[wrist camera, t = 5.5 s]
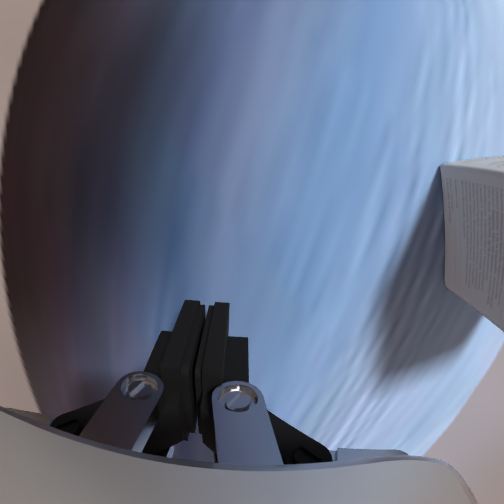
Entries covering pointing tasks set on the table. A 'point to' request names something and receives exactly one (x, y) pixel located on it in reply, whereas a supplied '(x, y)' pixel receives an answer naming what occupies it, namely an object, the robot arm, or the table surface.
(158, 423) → the robot arm
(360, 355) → the table surface
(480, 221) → the skincare box
